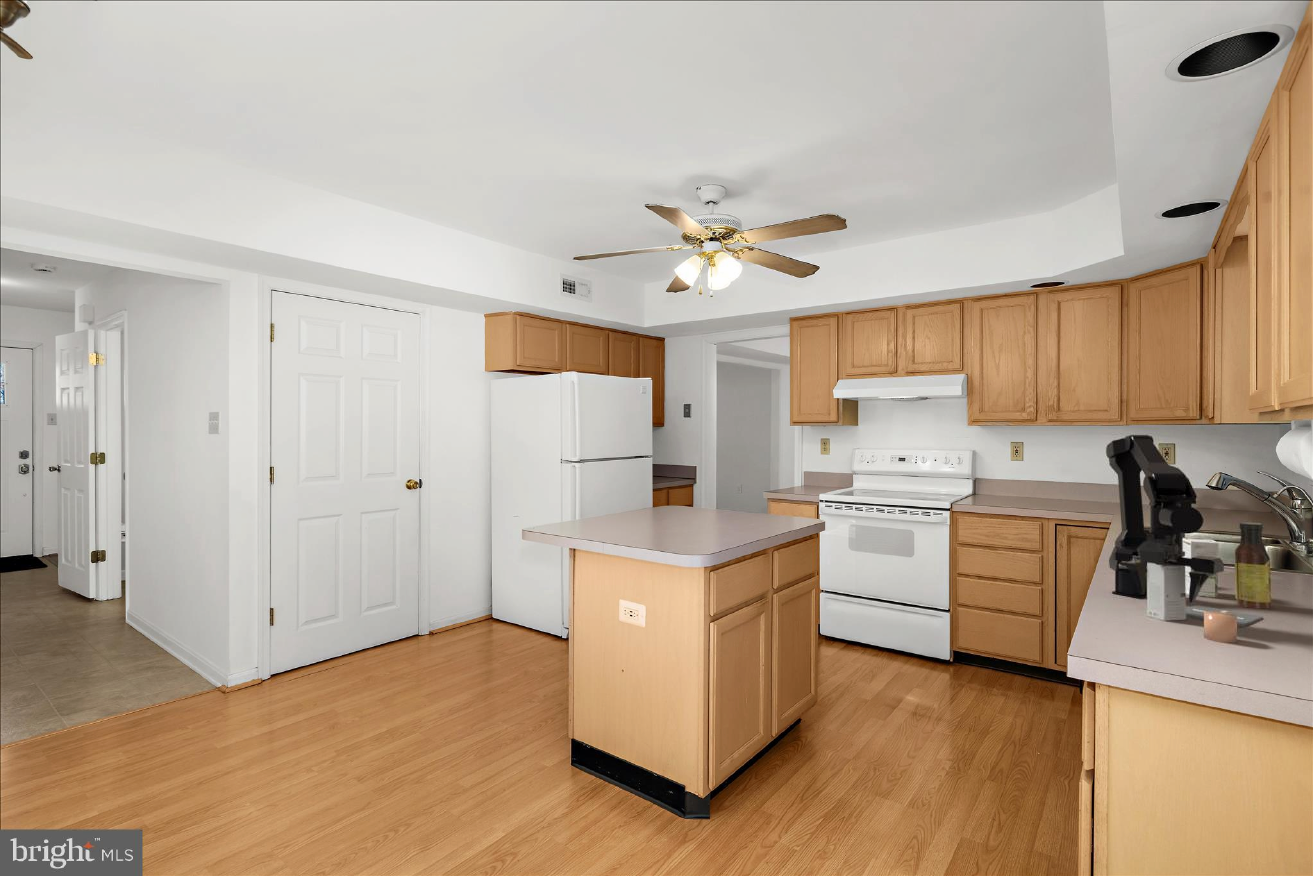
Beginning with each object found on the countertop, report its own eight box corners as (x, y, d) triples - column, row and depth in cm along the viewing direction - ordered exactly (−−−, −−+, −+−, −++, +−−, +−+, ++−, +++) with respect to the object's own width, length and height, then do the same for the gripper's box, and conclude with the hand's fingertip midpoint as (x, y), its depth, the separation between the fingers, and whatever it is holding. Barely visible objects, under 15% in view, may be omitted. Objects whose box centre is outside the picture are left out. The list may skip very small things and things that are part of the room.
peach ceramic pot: (1199, 637, 131) (1199, 613, 131) (1210, 634, 134) (1210, 609, 134) (1230, 644, 127) (1230, 619, 127) (1241, 640, 129) (1241, 615, 129)
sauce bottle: (1278, 611, 151) (1278, 525, 151) (1246, 610, 152) (1246, 524, 152) (1258, 604, 157) (1258, 521, 157) (1228, 603, 158) (1228, 521, 158)
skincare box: (1165, 621, 143) (1165, 566, 143) (1145, 616, 147) (1145, 562, 147) (1187, 619, 144) (1187, 564, 144) (1167, 614, 148) (1167, 561, 148)
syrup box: (1207, 594, 167) (1207, 537, 167) (1218, 600, 161) (1218, 541, 161) (1180, 593, 169) (1180, 536, 169) (1190, 598, 163) (1190, 540, 163)
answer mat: (1173, 614, 149) (1173, 611, 149) (1196, 606, 155) (1196, 604, 155) (1241, 627, 138) (1241, 624, 138) (1262, 619, 144) (1262, 616, 144)
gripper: (1102, 525, 149) (1101, 593, 149) (1202, 535, 133) (1202, 612, 133) (1125, 522, 155) (1125, 588, 155) (1224, 532, 139) (1224, 605, 139)
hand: (1166, 598), depth 145 cm, fingers open, 9 cm apart
